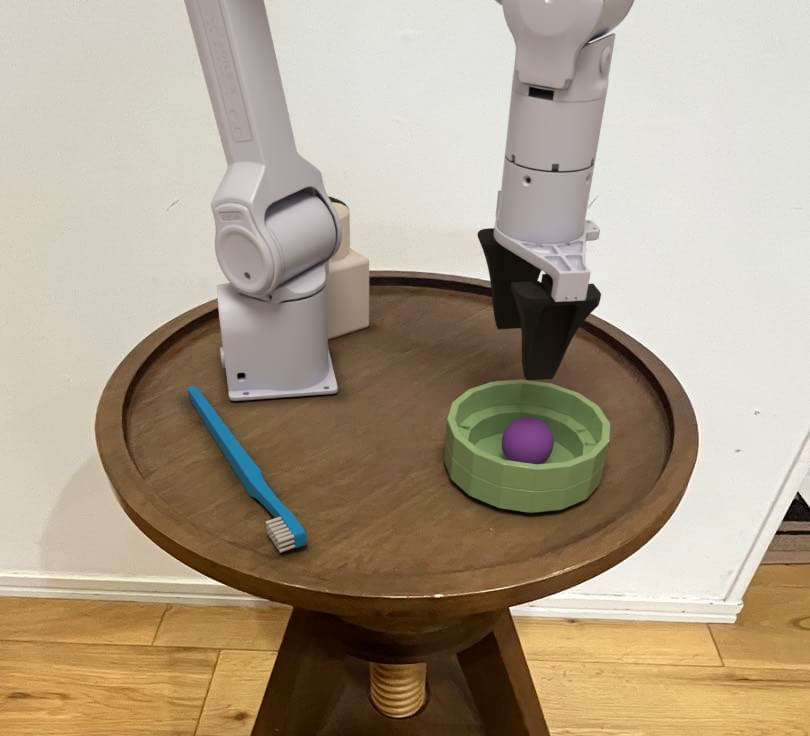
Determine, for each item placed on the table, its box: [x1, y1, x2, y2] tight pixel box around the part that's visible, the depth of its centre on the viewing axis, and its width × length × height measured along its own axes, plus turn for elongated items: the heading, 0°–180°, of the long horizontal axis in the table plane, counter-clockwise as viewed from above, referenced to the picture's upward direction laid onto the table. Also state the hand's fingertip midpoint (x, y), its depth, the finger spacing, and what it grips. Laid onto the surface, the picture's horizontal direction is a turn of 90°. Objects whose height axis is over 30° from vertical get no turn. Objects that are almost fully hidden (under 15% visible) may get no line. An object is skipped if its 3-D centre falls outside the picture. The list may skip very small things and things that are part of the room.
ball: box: [502, 417, 554, 464], centre depth 66 cm, size 4×4×4 cm
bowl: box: [443, 378, 611, 514], centre depth 66 cm, size 12×12×4 cm
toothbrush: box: [186, 385, 308, 554], centre depth 66 cm, size 23×2×2 cm
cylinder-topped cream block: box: [326, 195, 370, 341], centre depth 81 cm, size 7×7×12 cm
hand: (523, 351), depth 63 cm, fingers open, 7 cm apart
